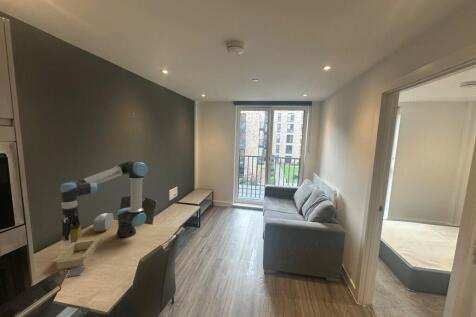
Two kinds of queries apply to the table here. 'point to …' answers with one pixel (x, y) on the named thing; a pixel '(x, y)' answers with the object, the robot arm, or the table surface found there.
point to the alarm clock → (103, 222)
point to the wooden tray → (64, 259)
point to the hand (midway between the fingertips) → (72, 241)
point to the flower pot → (74, 233)
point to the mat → (75, 271)
